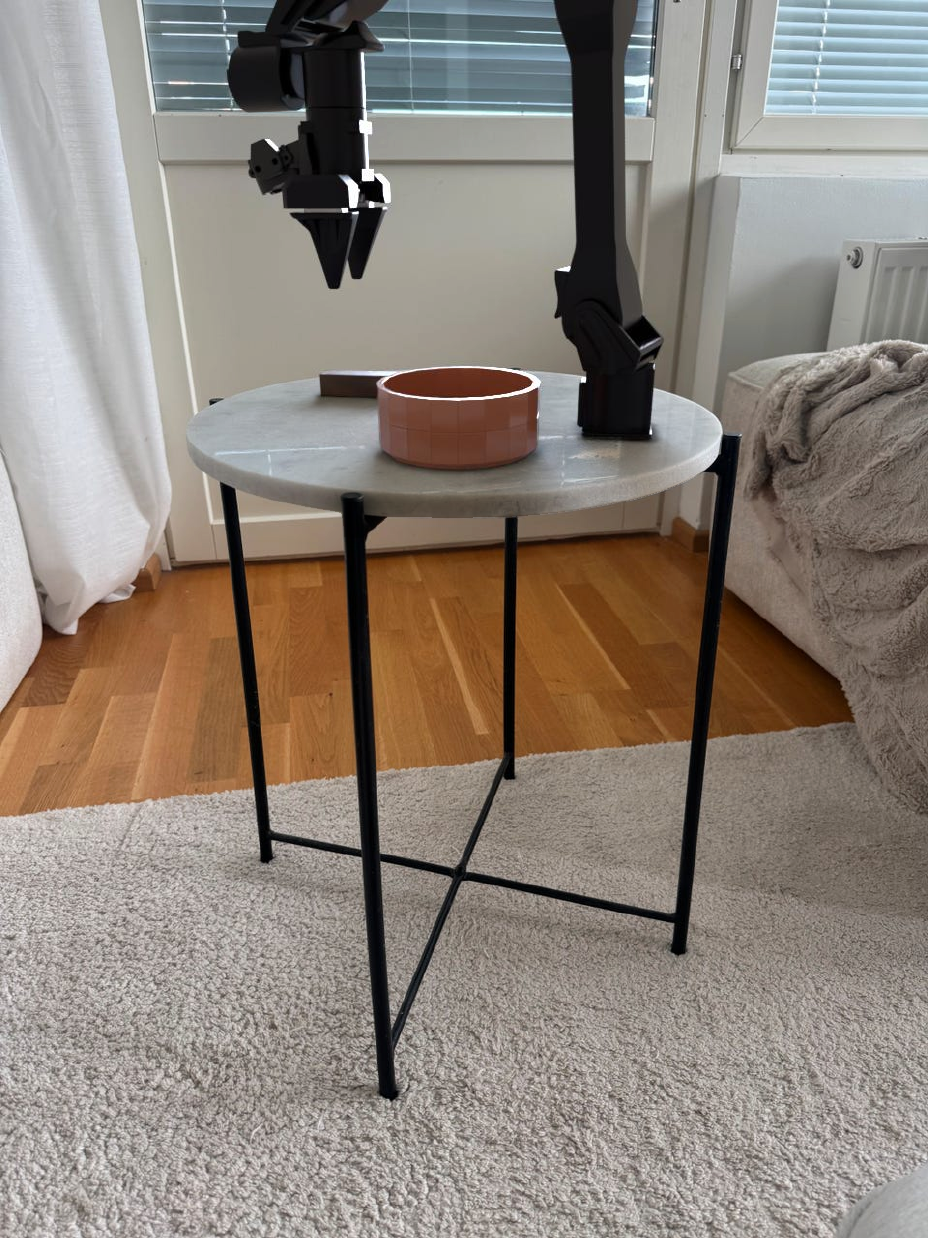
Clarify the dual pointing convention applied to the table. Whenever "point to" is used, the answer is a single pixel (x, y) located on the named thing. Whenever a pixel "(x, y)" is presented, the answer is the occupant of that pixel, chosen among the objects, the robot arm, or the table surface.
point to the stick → (350, 383)
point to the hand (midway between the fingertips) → (346, 283)
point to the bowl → (458, 416)
